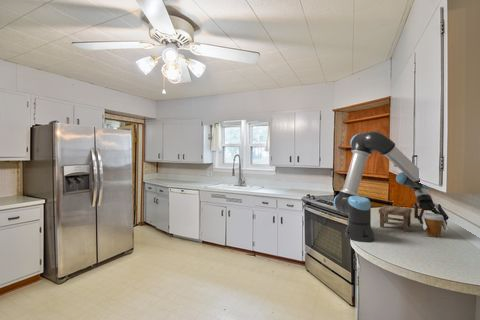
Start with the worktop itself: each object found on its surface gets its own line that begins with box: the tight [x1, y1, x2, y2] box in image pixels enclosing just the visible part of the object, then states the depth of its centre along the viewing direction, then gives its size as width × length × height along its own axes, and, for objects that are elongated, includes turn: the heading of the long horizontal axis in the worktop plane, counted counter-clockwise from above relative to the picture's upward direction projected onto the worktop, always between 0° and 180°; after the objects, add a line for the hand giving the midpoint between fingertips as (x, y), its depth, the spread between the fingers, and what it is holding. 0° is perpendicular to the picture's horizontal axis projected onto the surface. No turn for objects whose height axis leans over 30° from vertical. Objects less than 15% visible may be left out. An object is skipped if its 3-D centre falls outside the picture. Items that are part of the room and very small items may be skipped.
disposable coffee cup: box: [422, 212, 444, 238], centre depth 139 cm, size 10×10×12 cm
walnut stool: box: [378, 205, 413, 233], centre depth 158 cm, size 16×16×12 cm
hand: (435, 229), depth 136 cm, fingers closed on disposable coffee cup, 9 cm apart
